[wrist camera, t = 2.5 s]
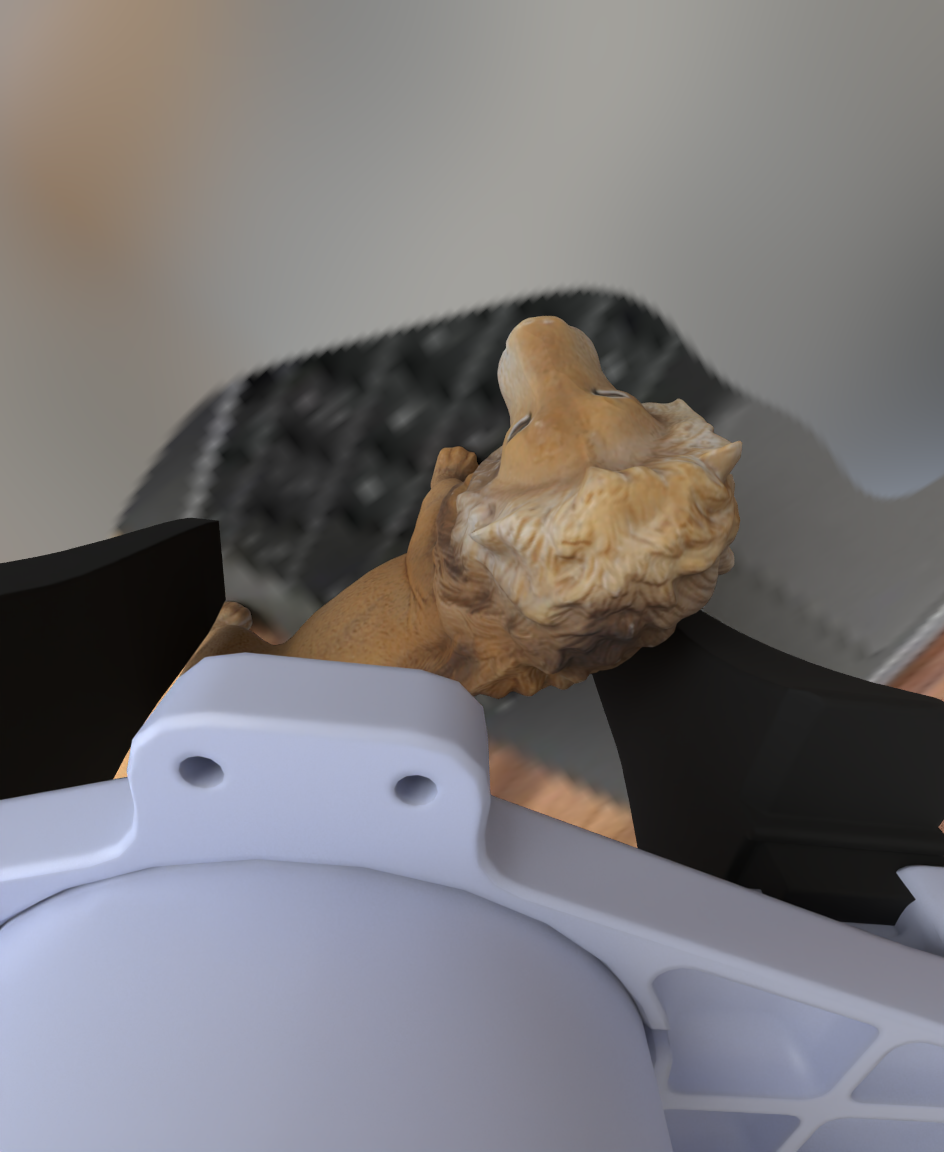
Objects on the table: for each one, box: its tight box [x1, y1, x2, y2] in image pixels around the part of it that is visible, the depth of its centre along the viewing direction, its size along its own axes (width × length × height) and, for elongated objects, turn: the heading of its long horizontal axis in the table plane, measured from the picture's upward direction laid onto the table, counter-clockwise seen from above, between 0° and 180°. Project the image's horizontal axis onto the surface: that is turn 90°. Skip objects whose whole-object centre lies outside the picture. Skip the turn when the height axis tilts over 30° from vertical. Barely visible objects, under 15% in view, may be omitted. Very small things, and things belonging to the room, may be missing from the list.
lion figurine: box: [179, 316, 742, 699], centre depth 12 cm, size 15×5×9 cm, turn 132°
